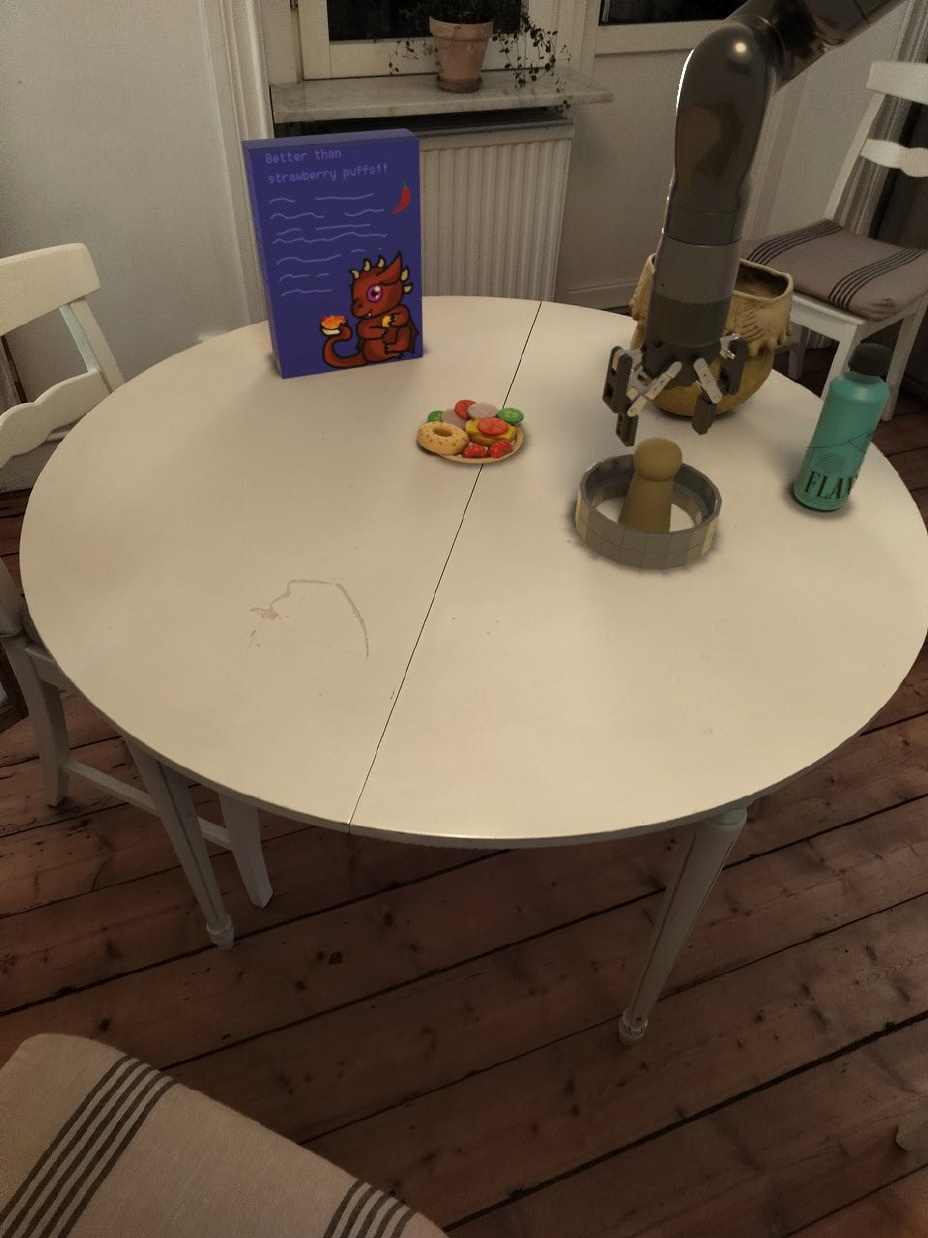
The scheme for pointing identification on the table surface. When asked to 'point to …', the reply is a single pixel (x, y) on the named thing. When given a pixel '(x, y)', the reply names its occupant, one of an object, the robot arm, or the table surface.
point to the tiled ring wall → (640, 545)
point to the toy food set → (472, 432)
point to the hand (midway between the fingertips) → (662, 436)
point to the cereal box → (339, 247)
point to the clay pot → (751, 315)
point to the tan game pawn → (652, 486)
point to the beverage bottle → (844, 429)
